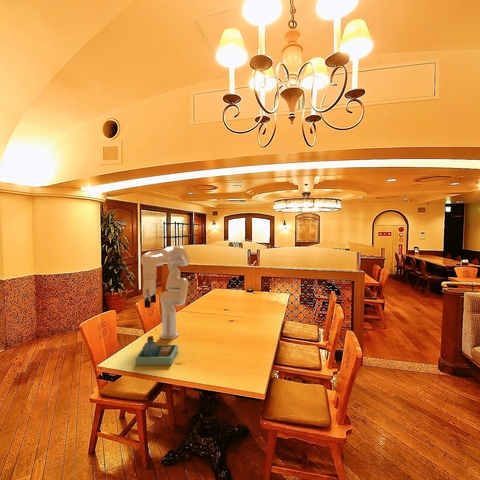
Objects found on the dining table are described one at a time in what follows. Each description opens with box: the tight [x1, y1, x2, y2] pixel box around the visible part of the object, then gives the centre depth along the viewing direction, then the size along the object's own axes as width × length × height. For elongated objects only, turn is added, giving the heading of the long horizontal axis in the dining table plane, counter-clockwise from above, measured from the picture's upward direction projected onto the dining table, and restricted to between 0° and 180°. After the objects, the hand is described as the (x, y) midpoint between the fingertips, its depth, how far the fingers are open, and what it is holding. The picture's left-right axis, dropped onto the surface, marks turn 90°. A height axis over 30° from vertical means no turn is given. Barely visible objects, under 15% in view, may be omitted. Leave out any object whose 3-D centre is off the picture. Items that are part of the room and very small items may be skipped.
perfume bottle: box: [142, 335, 159, 357], centre depth 147 cm, size 6×6×12 cm
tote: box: [134, 344, 179, 367], centre depth 147 cm, size 16×20×4 cm
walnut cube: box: [160, 347, 171, 357], centre depth 147 cm, size 5×5×5 cm
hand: (150, 305), depth 150 cm, fingers open, 9 cm apart
